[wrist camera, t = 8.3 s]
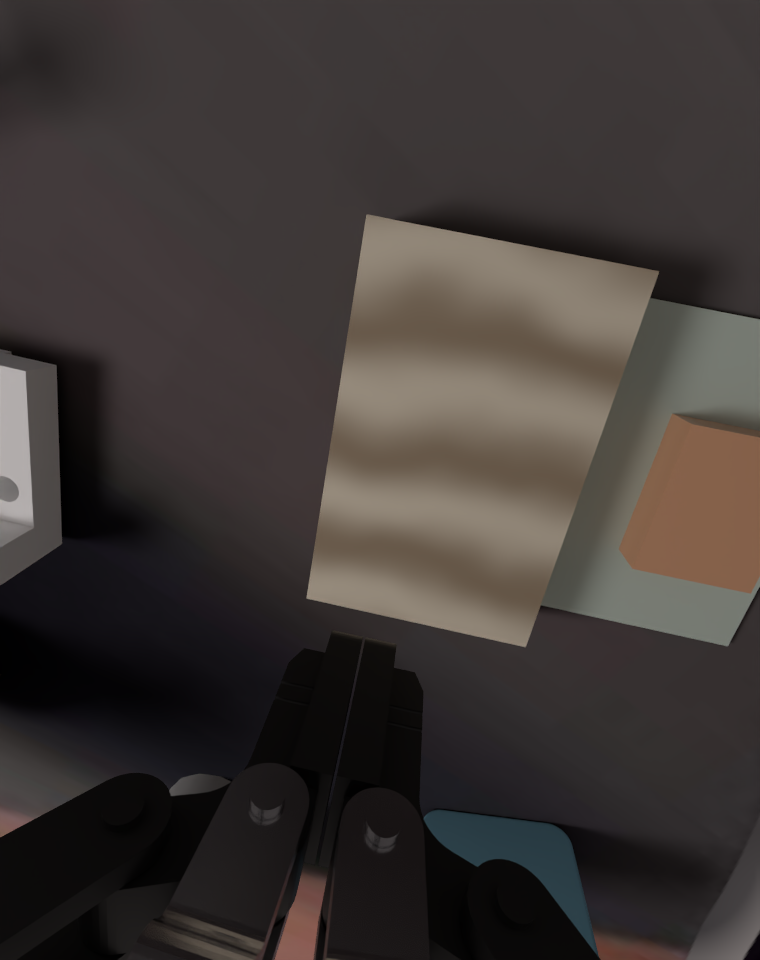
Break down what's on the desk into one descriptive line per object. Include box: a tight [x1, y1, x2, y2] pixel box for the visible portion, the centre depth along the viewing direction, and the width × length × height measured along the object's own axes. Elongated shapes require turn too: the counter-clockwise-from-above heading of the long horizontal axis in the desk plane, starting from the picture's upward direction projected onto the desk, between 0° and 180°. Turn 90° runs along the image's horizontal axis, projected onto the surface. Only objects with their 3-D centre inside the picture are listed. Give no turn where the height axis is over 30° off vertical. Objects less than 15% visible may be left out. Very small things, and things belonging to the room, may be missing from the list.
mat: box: [541, 298, 760, 646], centre depth 31 cm, size 20×14×1 cm
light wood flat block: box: [307, 215, 659, 647], centre depth 30 cm, size 22×14×4 cm, turn 169°
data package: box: [424, 810, 599, 957], centre depth 38 cm, size 12×4×12 cm, turn 88°
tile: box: [619, 414, 760, 594], centre depth 30 cm, size 9×7×2 cm
